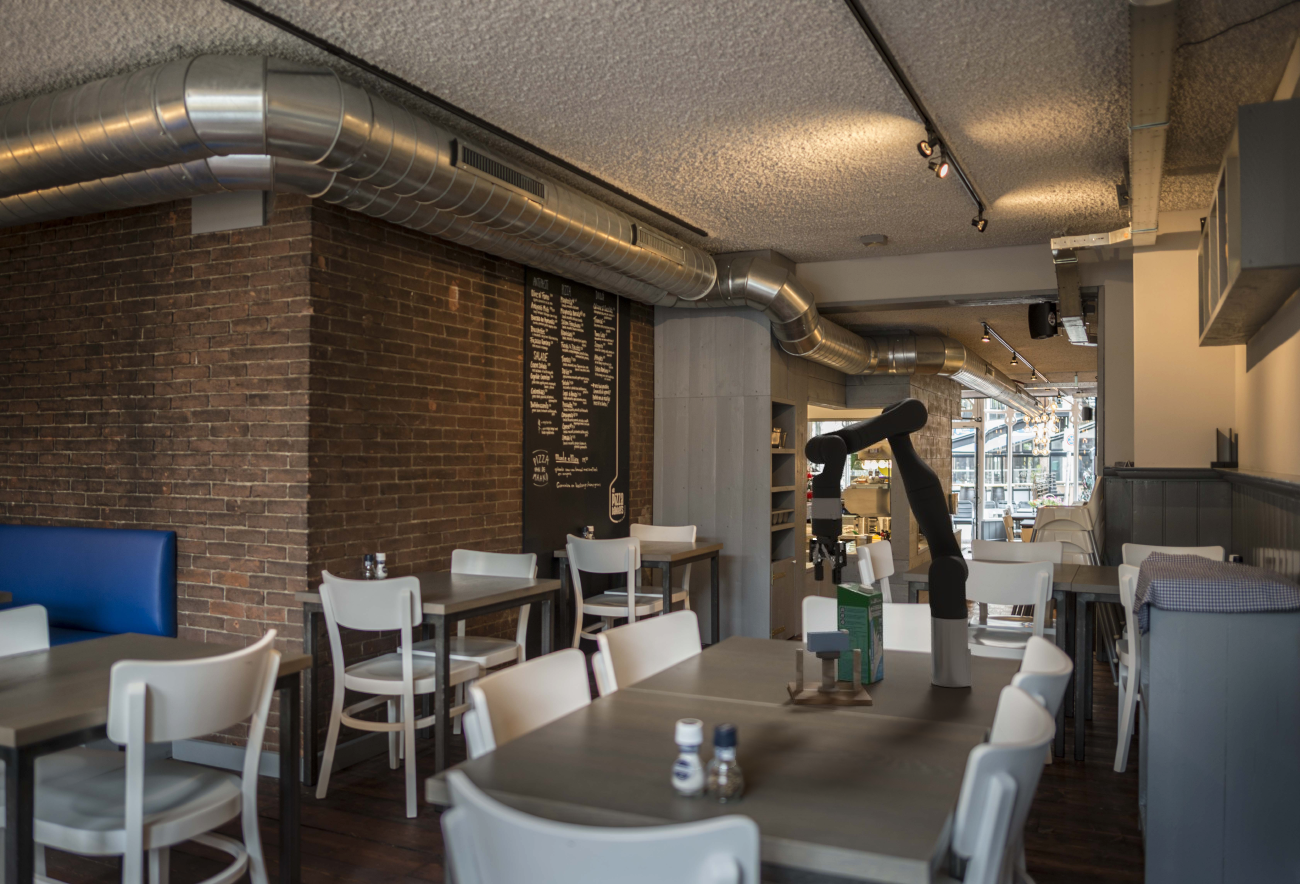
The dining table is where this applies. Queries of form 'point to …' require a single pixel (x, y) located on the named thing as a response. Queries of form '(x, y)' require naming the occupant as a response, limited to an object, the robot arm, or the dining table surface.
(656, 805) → the dining table surface
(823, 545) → the robot arm
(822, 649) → the blue long block
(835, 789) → the dining table surface
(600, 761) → the dining table surface
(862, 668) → the milk carton
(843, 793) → the dining table surface
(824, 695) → the base plate
